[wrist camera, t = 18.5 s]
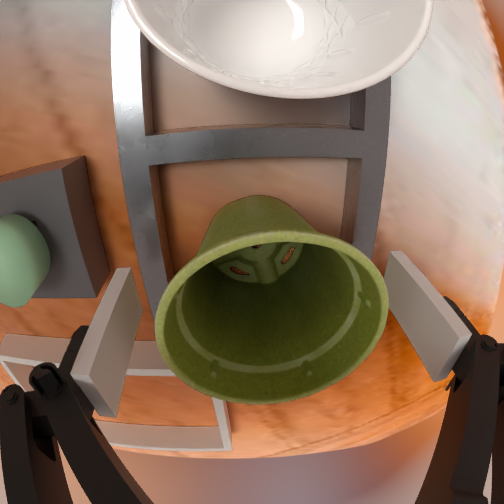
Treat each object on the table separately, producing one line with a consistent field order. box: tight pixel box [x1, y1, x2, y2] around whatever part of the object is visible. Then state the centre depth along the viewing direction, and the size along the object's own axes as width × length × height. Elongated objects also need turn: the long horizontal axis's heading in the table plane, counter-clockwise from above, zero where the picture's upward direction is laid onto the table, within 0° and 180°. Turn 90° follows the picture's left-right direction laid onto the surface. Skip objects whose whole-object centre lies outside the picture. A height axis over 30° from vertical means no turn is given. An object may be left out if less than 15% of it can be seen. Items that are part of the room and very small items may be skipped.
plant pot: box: [154, 195, 389, 405], centre depth 15 cm, size 9×9×9 cm
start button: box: [0, 214, 51, 308], centre depth 14 cm, size 5×5×5 cm
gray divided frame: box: [111, 0, 391, 322], centre depth 15 cm, size 14×26×2 cm, turn 1°
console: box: [0, 156, 110, 298], centre depth 16 cm, size 8×8×3 cm
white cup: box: [124, 0, 433, 99], centre depth 8 cm, size 8×8×10 cm
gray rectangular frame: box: [0, 333, 232, 451], centre depth 25 cm, size 22×16×3 cm
